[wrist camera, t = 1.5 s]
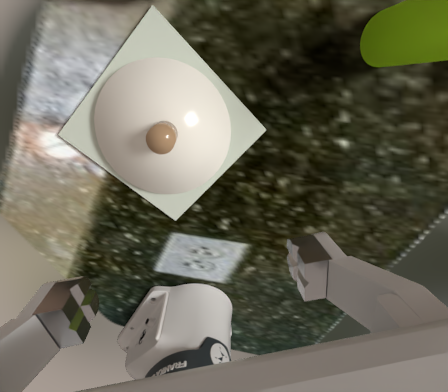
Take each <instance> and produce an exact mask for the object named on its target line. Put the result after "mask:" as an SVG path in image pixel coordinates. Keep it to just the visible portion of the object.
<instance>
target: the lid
mask: <svg viewBox="0 0 448 392" xmlns="http://www.w3.org/2000/svg"><path fill="white" fill-rule="evenodd" d="M94 127H95V133H96V137H97V141H98V144H99V147H100V149H101V151H102V153H103V155H104V157H105V158H106V160H107V161H108V163H109V164H110V165H111V167H112V168H113V169H114V170H115V171H116V172H117V173H118V174H119V175H120V176H121V177H122V178H124V179H125V180H126V181H128V182H129V183H131V184H132V185H134V186H136V187H138V188H141V189H143V190H146V191H149V192H153V193H159V194H179V193H183V192H188V191H190V190H193V189H195V188H197V187H199V186H201V185H203V184H204V183H206V182H207V181H208V180H209V179H211V178H212V177H213V176H214V175H215V173H216V172H217V171H218V170H219V168H220V167H221V165H222V164H223V162H224V160H225V158H226V156H227V153H228V150H229V145H230V140H231V123H230V118H229V113H228V110H227V107H226V104H225V102H224V100H223V98H222V96H221V95H220V93H219V91H218V90H217V88H216V87H215V86H214V85H213V84H212V82H211V81H210V80H209V79H208V78H207V77H206V76H204V75H203V74H202V73H201V72H199V71H198V70H197V69H195V68H193V67H191V66H190V65H188V64H186V63H183V62H180V61H178V60H174V59H169V58H161V57H153V58H144V59H140V60H136V61H134V62H131V63H129V64H127V65H125V66H124V67H122V68H120V69H119V70H118V71H117V72H115V73H114V74H113V75H112V76H111V77H110V78H109V79H108V81H107V82H106V83H105V85H104V87H103V88H102V90H101V92H100V94H99V97H98V99H97V103H96V107H95V114H94Z"/></svg>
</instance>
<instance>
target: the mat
mask: <svg viewBox="0 0 448 392" xmlns="http://www.w3.org/2000/svg"><path fill="white" fill-rule="evenodd" d="M153 57H161V58H169V59H174V60H178V61H180V62H183V63H186V64H188V65H190V66H191V67H193V68H195V69H197V70H198V71H199V72H201V73H202V74H203V75H204V76H206V77H207V78H208V79H209V80H210V81H211V82H212V84H213V85H214V86H215V87H216V88H217V90H218V91H219V93H220V95H221V96H222V98H223V100H224V102H225V104H226V107H227V110H228V113H229V118H230V123H231V140H230V145H229V150H228V153H227V156H226V158H225V160H224V162H223V164H222V165H221V167H220V168H219V170H218V171H217V172H216V173H215V175H214V176H213V177H212V178H211V179H209V180H208V181H207V182H206V183H204V184H203V185H201V186H199V187H197V188H195V189H193V190H190V191H188V192H183V193H179V194H159V193H153V192H149V191H146V190H143V189H141V188H138V187H136V186H134V185H132V184H131V183H129V182H128V181H126V180H125V179H124V178H122V177H121V176H120V175H119V174H118V173H117V172H116V171H115V170H114V169H113V168H112V167H111V165H110V164H109V163H108V161H107V160H106V158H105V157H104V155H103V153H102V151H101V149H100V147H99V144H98V141H97V137H96V133H95V127H94V114H95V107H96V103H97V99H98V97H99V94H100V92H101V90H102V88H103V87H104V85H105V83H106V82H107V81H108V79H109V78H110V77H111V76H112V75H113V74H114V73H115V72H117V71H118V70H119V69H120V68H122V67H124V66H125V65H127V64H129V63H131V62H134V61H136V60H140V59H144V58H153ZM265 131H266V129H265V128H264V127H263V125H262V124H261V123H260V122H259V121H258V120H257V119H256V118H255V117H254V116H253V114H252V113H251V112H250V111H249V110H248V109H247V108H246V107H245V106H244V105H243V104H242V102H241V101H240V100H239V99H238V98H237V97H236V96H235V95H234V94H233V93H232V91H231V90H230V89H229V88H228V87H227V86H226V85H225V84H224V83H223V82H222V80H221V79H220V78H219V77H218V76H217V75H216V74H215V73H214V72H213V71H212V69H211V68H210V67H209V66H208V65H207V64H206V63H205V62H204V61H203V60H202V59H201V57H200V56H199V55H198V54H197V53H196V52H195V51H194V50H193V49H192V48H191V46H190V45H189V44H188V43H187V42H186V41H185V40H184V39H183V38H182V37H181V35H180V34H179V33H178V32H177V31H176V30H175V29H174V28H173V27H172V26H171V25H170V23H169V22H168V21H167V20H166V19H165V18H164V17H163V16H162V15H161V14H160V12H159V11H158V10H157V9H156V8H155V7H154V6H153V5H152V6H151V8H150V9H149V10H148V12H147V13H146V15H145V16H144V17H143V19H142V20H141V21H140V23H139V24H138V26H137V27H136V28H135V30H134V31H133V32H132V34H131V35H130V37H129V38H128V39H127V41H126V42H125V43H124V45H123V46H122V48H121V49H120V50H119V52H118V53H117V54H116V56H115V57H114V59H113V60H112V61H111V63H110V64H109V65H108V67H107V68H106V70H105V71H104V72H103V74H102V75H101V76H100V78H99V79H98V81H97V82H96V83H95V85H94V86H93V87H92V89H91V90H90V92H89V93H88V94H87V96H86V97H85V98H84V100H83V101H82V103H81V104H80V105H79V107H78V108H77V109H76V111H75V112H74V114H73V115H72V116H71V118H70V119H69V120H68V122H67V123H66V124H65V126H64V127H63V129H62V130H61V131H60V133H59V134H58V135H59V136H60V137H62V138H63V139H64V140H66V141H67V142H69V143H70V144H71V145H73V146H74V147H75V148H77V149H78V150H79V151H81V152H82V153H84V154H85V155H86V156H88V157H89V158H90V159H92V160H93V161H94V162H96V163H97V164H99V165H100V166H101V167H103V168H104V169H105V170H107V171H108V172H109V173H111V174H112V175H114V176H115V177H116V178H118V179H119V180H120V181H122V182H123V183H124V184H126V185H127V186H129V187H130V188H131V189H133V190H134V191H135V192H137V193H138V194H140V195H141V196H142V197H144V198H145V199H146V200H148V201H149V202H150V203H152V204H153V205H155V206H156V207H157V208H159V209H160V210H161V211H163V212H164V213H165V214H167V215H168V216H170V217H171V218H172V219H174V220H175V221H176V220H177V219H178V218H179V217H180V216H181V215H182V214H183V213H184V212H185V211H186V210H187V209H188V208H189V207H190V206H191V205H192V204H193V203H194V202H195V201H196V200H197V199H198V198H199V197H200V196H201V195H202V194H203V193H204V192H205V191H206V190H207V189H208V188H209V187H210V186H211V185H212V184H213V183H214V182H215V181H216V180H217V179H218V178H219V177H220V176H221V175H222V174H223V173H224V172H225V171H226V170H227V169H228V168H229V167H230V166H231V165H232V164H233V163H234V162H235V161H236V160H237V159H238V158H239V157H240V156H241V155H242V154H243V153H244V152H245V151H246V150H247V149H248V148H249V147H250V146H251V145H252V144H253V143H254V142H255V141H256V140H257V139H258V138H259V137H260V136H261V135H262V134H263V133H264V132H265Z"/></svg>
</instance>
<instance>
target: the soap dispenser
mask: <svg viewBox="0 0 448 392" xmlns="http://www.w3.org/2000/svg"><path fill="white" fill-rule="evenodd" d="M360 51H361V55H362V57H363V59H364V61H365V62H366V63H367V64H369V65H370V66H373V67H387V66H396V65H406V64H416V63H425V62H435V61H445V60H448V0H406V1H404V2H401V3H399V4H396V5H394V6H392V7H389V8H387V9H384V10H382V11H380V12H378V13H377V14H375V15H374V16H373V17H372V18H371V19H370V20H369V22H368V23H367V25H366V26H365V28H364V30H363V33H362V36H361V41H360Z"/></svg>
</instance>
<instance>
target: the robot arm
mask: <svg viewBox="0 0 448 392" xmlns="http://www.w3.org/2000/svg"><path fill="white" fill-rule="evenodd" d="M287 248H288V250H289V252H290V253H289V255H288V256H287V257H288V265H289V270H290V273H291V275H292V277H293V279H294V280H296V281H297V282H298V289H299V291H300V293H301V295H302V297H303V299H304V301H309V300H315V299H322V298H327V299H328V300H329V301H330V302H332V303H333V304H335V305H336V306H337V307H339V308H340V309H341V310H343V311H344V312H346V313H347V314H348V315H350V316H351V317H353V318H354V319H355V320H357V321H358V322H359V323H361V324H362V325H364V326H365V327H366V328H368V329H369V330H370V331H371V334H366V335H361V336H356V337H351V338H346V339H341V340H336V341H331V342H325V343H320V344H315V345H310V346H305V347H300V348H295V349H290V350H285V351H279V352H274V353H269V354H264V355H259V356H254V357H249V358H244V359H239V360H234V361H231V355H230V354H231V353H230V352H231V344H230V337H231V335H232V328H231V317H232V304H231V302H230V300H229V298H228V297H227V295H226V294H225V293H223V292H222V291H221V290H219V289H217V288H215V287H213V286H209V285H205V284H197V283H192V284H183V285H179V286H174V287H166V286H155V287H153V288H151V289H150V291H149V292H148V293H147V295H146V296H145V298H144V299H143V301H142V302H141V304H140V305H139V307H138V308H137V309H136V311H135V312H134V314H133V315H132V317H131V318H130V320H129V321H128V322H127V324H126V325H125V327H124V328H123V330H122V331H121V333H120V334H119V336H118V339H117V342H118V344H119V346H120V347H121V348H122V349H123V350H124V351H125V352H127V357H126V363H125V367H126V370H127V372H128V373H129V375H130V376H131V377H132V378H134V379H135V380H132V381H127V382H122V383H118V384H112V385H107V386H102V387H97V388H91V389H86V390H81V391H76V392H448V308H447V307H446V306H445V305H444V304H443V303H441V301H439V300H438V299H437V298H436V297H435V296H434V295H433V294H431V293H430V292H429V291H428V290H427V289H426V288H425V287H424V286H422V285H419V284H417V283H415V282H412V281H410V280H407V279H405V278H402V277H400V276H398V275H395V274H393V273H391V272H388V271H386V270H383V269H381V268H378V267H376V266H374V265H371V264H369V263H366V262H364V261H362V260H359V259H357V258H354V257H352V256H349V257H347V256H346V255H345V254H344V253H343V252H342V250H341V249H340V248H339V247H338V246H337V245H336V244H335V243H334V241H333V240H332V239H331V238H330V237H329V236H328V235H327V234H326V233H325V232H320V233H316V234H312V235H307V236H302V237H297V238H291V239H288V240H287ZM90 286H91V282H90V280H89V279H88V277H85V276H83V277H76V278H70V279H64V280H59V281H53V282H47V283H45V284H43V285H42V286H41V287H40V288H39V290H38V291H37V292H36V294H35V295H34V296H33V297H32V299H31V300H30V301H29V302H28V304H27V305H26V306H25V307H24V309H23V310H22V311H21V313H20V314H19V315H18V316H17V318H16V319H11V320H10V321H9V322H7V323H6V324H4V325H3V326H1V327H0V392H22V391H23V390H24V389H25V387H26V386H27V385H28V384H29V383H30V382H31V381H32V380H33V379H34V378H35V377H36V376H37V375H38V373H39V372H40V371H41V370H42V369H43V368H44V367H45V366H46V364H48V362H49V361H50V360H51V359H52V358H53V357H54V356H55V355H56V354H57V353H58V352H59V351H60V349H61V348H65V347H70V346H74V345H79V344H83V343H84V341H85V339H86V337H87V334H88V332H89V330H90V328H91V326H90V323H89V322H90V321H91V320H92V319H93V318H94V317H95V316H96V313H97V311H98V307H99V299H98V295H97V293H96V291H94V290H92V289H90Z"/></svg>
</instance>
